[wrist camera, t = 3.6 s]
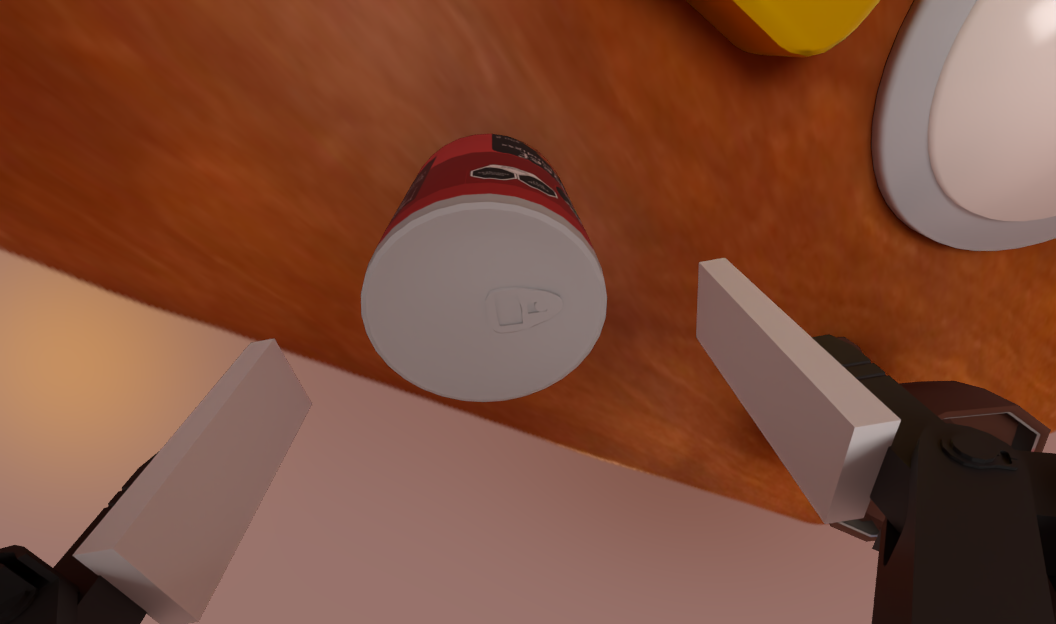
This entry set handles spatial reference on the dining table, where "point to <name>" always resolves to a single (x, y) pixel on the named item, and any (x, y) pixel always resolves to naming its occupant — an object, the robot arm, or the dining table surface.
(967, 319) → the dining table surface
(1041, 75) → the dish
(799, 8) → the element tile
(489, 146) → the canned food
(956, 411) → the ice cream bowl
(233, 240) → the dining table surface
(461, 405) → the dining table surface
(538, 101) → the dining table surface
